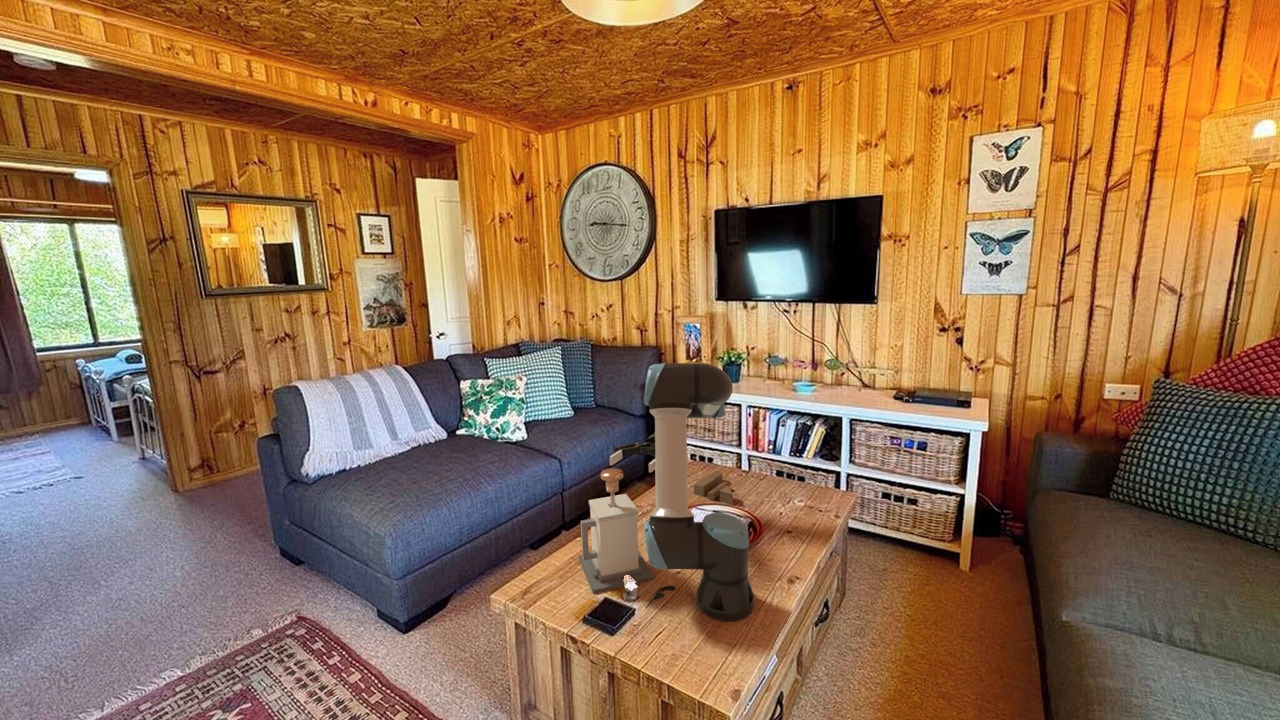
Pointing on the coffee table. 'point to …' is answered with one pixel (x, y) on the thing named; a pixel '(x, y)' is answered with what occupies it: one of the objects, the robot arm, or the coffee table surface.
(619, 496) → the press
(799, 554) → the coffee table surface
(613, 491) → the plunger
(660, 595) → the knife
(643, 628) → the coffee table surface
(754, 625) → the coffee table surface
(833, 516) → the coffee table surface
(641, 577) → the mat
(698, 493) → the wooden block set
